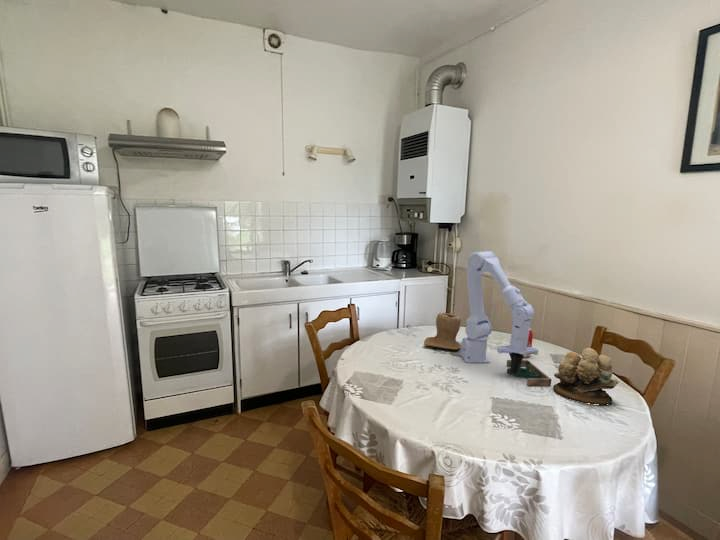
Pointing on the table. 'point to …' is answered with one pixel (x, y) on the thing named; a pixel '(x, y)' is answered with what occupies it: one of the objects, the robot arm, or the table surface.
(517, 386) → the table surface
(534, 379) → the dock bay
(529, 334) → the soda can
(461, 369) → the table surface
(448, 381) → the table surface
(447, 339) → the brown boot
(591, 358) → the beige lumpy cluster
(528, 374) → the mount
